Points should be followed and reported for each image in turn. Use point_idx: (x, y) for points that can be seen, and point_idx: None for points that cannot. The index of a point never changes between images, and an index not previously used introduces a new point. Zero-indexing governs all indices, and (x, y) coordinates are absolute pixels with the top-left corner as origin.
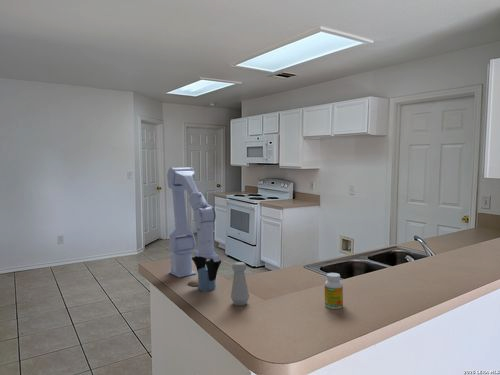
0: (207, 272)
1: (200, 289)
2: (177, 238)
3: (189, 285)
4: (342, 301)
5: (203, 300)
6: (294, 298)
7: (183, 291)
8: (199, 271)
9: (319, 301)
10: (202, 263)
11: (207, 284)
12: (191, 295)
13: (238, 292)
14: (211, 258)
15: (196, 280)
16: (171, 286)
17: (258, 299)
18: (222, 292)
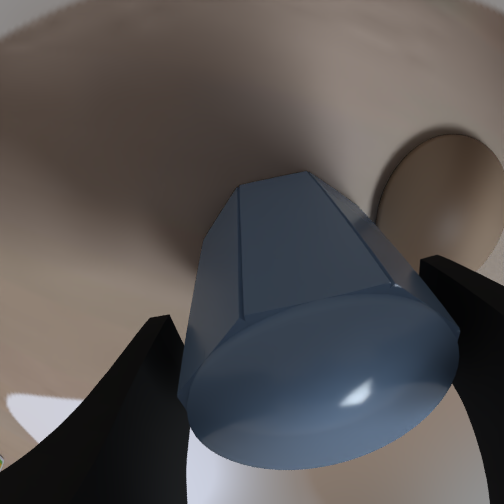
0: (180, 384)
1: (268, 180)
2: None
3: (445, 135)
4: None
5: (3, 142)
6: (22, 444)
7: (321, 16)
8: (324, 294)
9: (8, 454)
10: (495, 413)
11: (200, 265)
12: (152, 54)
13: None
14: None
15: (488, 230)
16: (492, 12)
17: (5, 389)
18: (120, 317)
